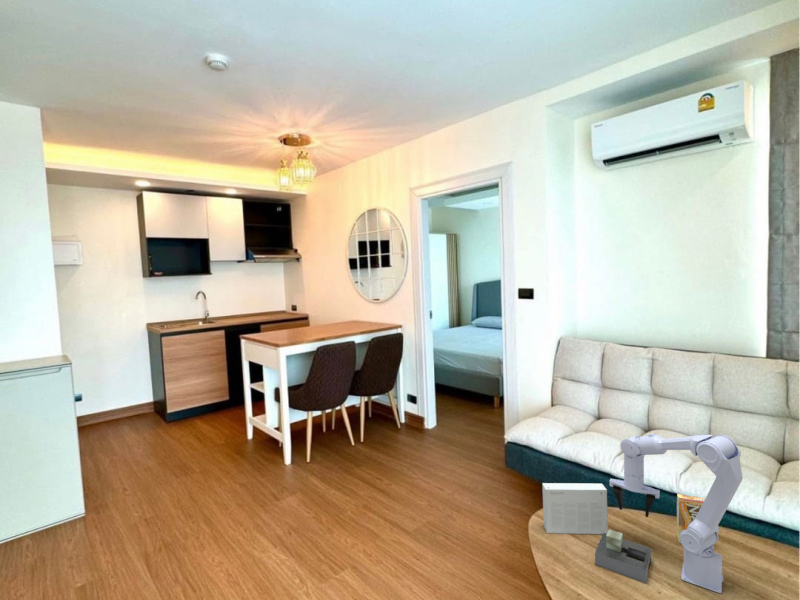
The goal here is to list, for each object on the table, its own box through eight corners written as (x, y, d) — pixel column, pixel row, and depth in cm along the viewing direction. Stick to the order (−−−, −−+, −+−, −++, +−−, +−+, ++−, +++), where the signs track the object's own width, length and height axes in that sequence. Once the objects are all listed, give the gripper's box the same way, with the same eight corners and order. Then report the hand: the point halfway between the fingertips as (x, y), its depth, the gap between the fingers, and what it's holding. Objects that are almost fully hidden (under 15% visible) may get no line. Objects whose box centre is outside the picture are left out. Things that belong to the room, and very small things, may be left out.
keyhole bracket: (651, 560, 132) (651, 548, 132) (646, 583, 123) (646, 570, 122) (603, 544, 141) (603, 532, 140) (595, 564, 131) (595, 552, 131)
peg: (622, 555, 134) (622, 533, 133) (620, 562, 131) (620, 540, 130) (609, 550, 136) (609, 529, 136) (606, 557, 133) (606, 535, 133)
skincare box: (602, 525, 151) (602, 482, 150) (608, 535, 145) (608, 490, 144) (542, 524, 153) (541, 482, 152) (546, 533, 147) (545, 489, 146)
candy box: (707, 542, 140) (708, 497, 139) (711, 550, 136) (711, 504, 135) (676, 536, 143) (676, 493, 142) (678, 543, 139) (679, 499, 138)
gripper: (660, 473, 138) (660, 513, 139) (612, 462, 147) (612, 499, 148) (658, 482, 133) (658, 523, 134) (608, 470, 142) (608, 509, 143)
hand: (633, 511), depth 141 cm, fingers open, 7 cm apart
